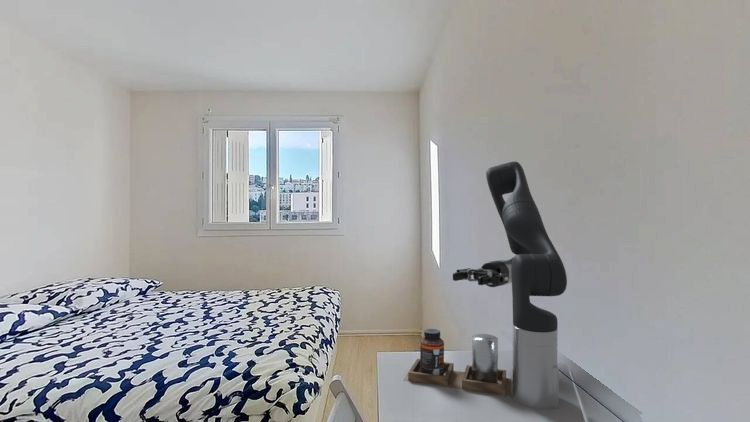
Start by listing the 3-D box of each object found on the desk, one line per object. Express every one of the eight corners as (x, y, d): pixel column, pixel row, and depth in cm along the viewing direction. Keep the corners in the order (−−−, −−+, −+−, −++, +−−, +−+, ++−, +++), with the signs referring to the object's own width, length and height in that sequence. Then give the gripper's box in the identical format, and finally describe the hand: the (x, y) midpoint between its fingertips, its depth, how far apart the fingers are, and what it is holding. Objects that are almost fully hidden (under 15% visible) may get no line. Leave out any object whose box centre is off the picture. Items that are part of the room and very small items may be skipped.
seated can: (498, 380, 97) (498, 335, 97) (497, 390, 91) (497, 343, 91) (473, 376, 99) (473, 332, 99) (470, 386, 93) (470, 340, 93)
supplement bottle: (443, 381, 96) (443, 335, 96) (419, 379, 97) (419, 333, 97) (444, 371, 102) (444, 328, 102) (421, 369, 103) (421, 326, 103)
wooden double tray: (511, 383, 98) (511, 370, 98) (510, 401, 88) (510, 387, 88) (413, 369, 106) (413, 357, 106) (403, 384, 97) (403, 371, 97)
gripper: (479, 258, 125) (445, 262, 114) (520, 263, 114) (488, 268, 103) (479, 282, 125) (445, 288, 114) (520, 289, 114) (488, 297, 103)
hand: (466, 279), depth 109 cm, fingers open, 8 cm apart
